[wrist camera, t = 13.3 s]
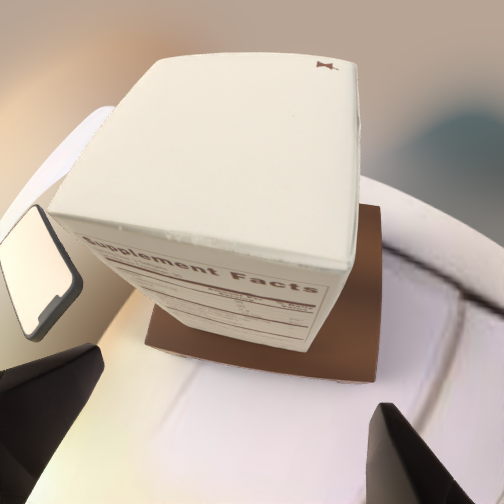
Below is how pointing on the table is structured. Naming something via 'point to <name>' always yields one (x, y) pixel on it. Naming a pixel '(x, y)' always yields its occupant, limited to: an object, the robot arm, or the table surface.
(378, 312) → the block
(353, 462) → the table surface
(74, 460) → the table surface
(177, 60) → the white packaging box
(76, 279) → the white smartphone
